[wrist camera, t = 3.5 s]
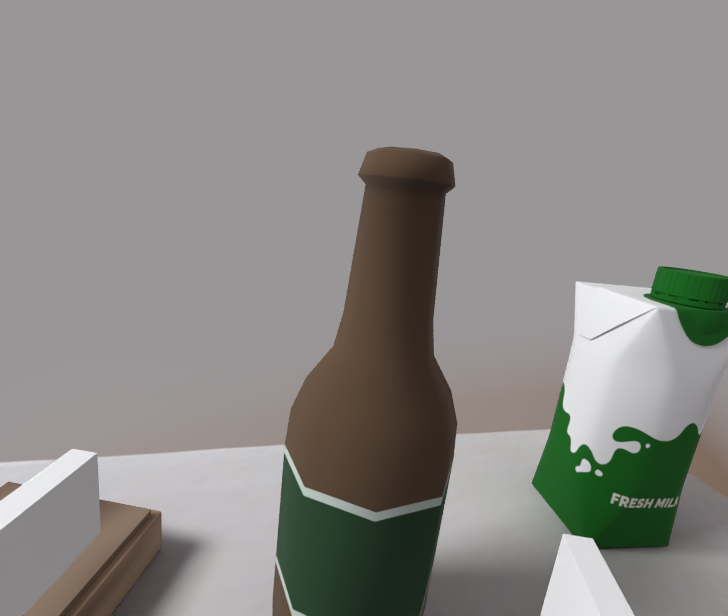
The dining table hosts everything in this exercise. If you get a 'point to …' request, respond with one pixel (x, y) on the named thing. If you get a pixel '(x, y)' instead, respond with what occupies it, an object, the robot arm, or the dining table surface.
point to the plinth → (102, 562)
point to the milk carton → (634, 405)
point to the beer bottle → (373, 415)
